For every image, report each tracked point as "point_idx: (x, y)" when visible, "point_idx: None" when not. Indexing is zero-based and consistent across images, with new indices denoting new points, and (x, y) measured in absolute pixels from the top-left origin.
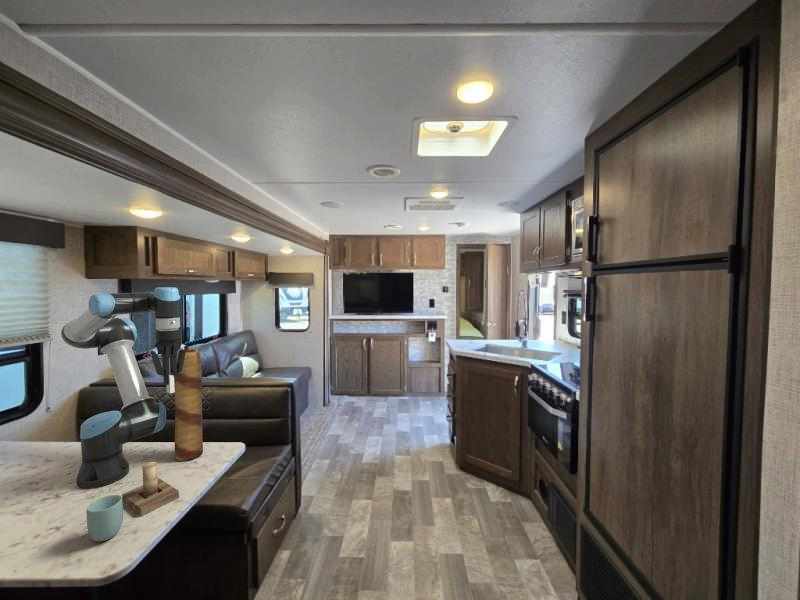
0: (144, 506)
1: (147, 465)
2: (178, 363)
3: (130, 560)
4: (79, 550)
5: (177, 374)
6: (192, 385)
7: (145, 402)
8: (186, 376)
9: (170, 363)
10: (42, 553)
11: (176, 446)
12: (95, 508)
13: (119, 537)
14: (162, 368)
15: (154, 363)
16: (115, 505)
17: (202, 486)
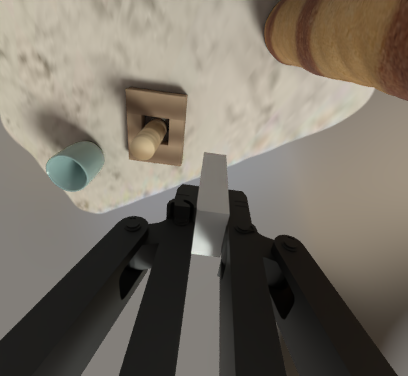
0: (133, 158)
1: (138, 147)
2: (295, 325)
3: (99, 211)
4: None
5: None
6: (401, 97)
7: None
8: None
9: (229, 313)
10: (31, 115)
11: (270, 27)
12: (61, 158)
13: (101, 169)
14: (154, 258)
15: (25, 335)
16: (77, 190)
17: None
